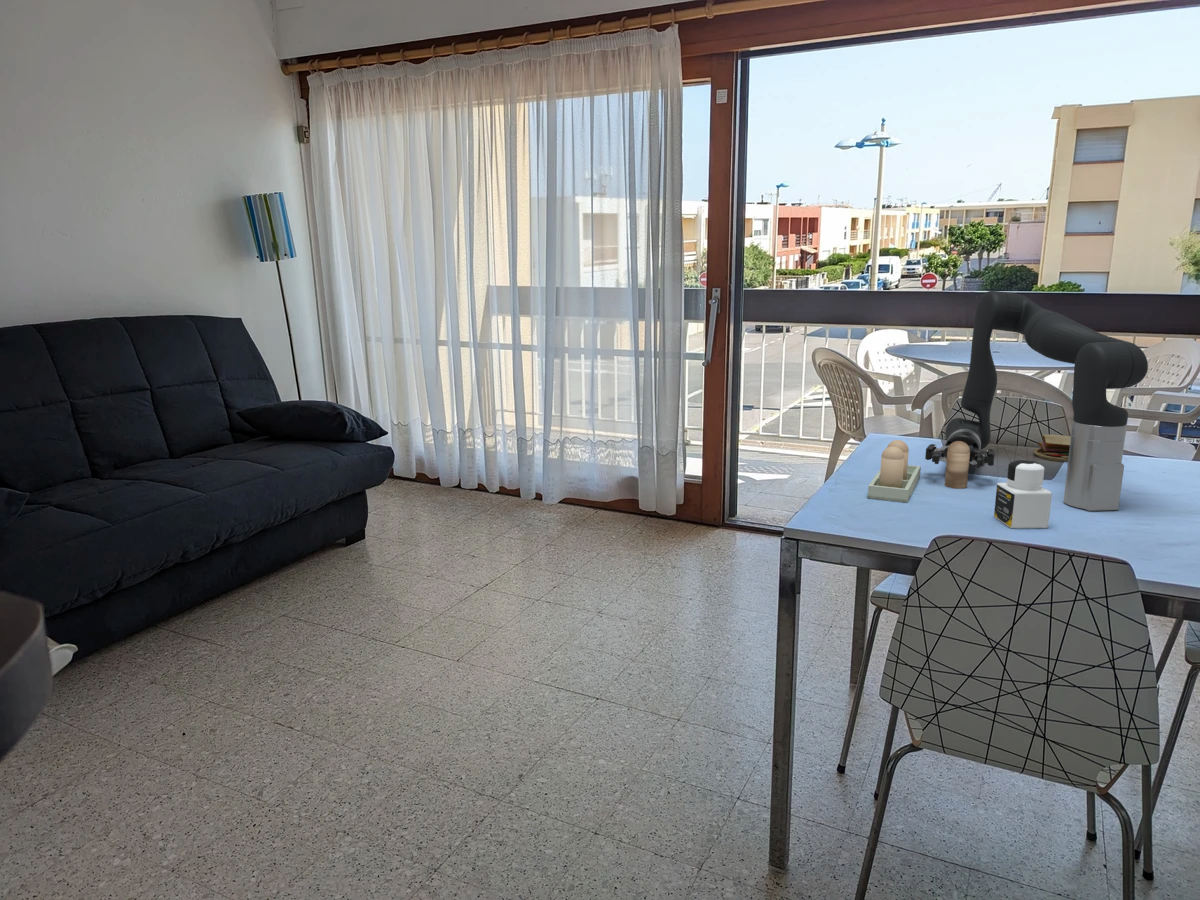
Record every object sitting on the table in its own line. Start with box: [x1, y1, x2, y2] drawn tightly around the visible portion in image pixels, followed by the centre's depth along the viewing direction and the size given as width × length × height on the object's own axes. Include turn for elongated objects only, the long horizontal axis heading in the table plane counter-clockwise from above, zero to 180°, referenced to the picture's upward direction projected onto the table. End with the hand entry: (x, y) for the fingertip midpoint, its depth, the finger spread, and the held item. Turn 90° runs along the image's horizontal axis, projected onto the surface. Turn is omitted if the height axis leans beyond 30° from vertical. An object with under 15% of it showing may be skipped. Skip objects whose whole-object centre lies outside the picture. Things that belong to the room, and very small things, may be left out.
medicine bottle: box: [993, 459, 1053, 529], centre depth 151 cm, size 7×7×12 cm
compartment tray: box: [867, 439, 922, 504], centre depth 176 cm, size 22×8×11 cm, turn 152°
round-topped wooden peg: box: [944, 441, 970, 490], centre depth 176 cm, size 5×5×10 cm
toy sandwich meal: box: [1033, 433, 1071, 462], centre depth 202 cm, size 12×14×5 cm
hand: (957, 461), depth 175 cm, fingers open, 8 cm apart
